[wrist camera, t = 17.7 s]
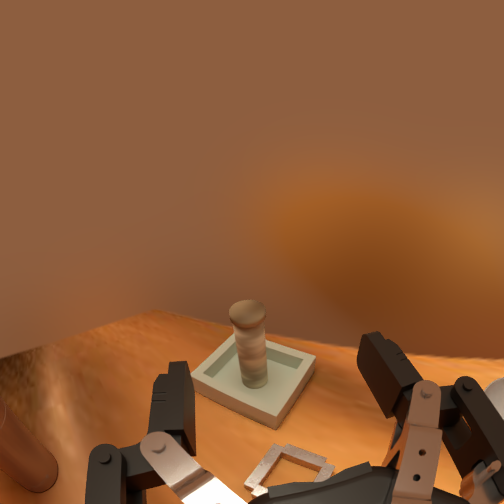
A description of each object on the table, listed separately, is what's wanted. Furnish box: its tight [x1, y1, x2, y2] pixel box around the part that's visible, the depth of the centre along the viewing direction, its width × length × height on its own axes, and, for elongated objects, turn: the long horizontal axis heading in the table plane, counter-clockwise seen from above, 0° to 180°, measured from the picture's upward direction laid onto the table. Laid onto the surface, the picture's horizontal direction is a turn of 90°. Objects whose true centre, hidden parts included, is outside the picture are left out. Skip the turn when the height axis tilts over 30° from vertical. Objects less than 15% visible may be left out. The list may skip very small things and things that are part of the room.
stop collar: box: [244, 444, 335, 498], centre depth 29 cm, size 9×9×2 cm
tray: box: [191, 333, 316, 430], centre depth 46 cm, size 16×14×4 cm
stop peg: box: [229, 300, 268, 389], centre depth 43 cm, size 5×5×15 cm
